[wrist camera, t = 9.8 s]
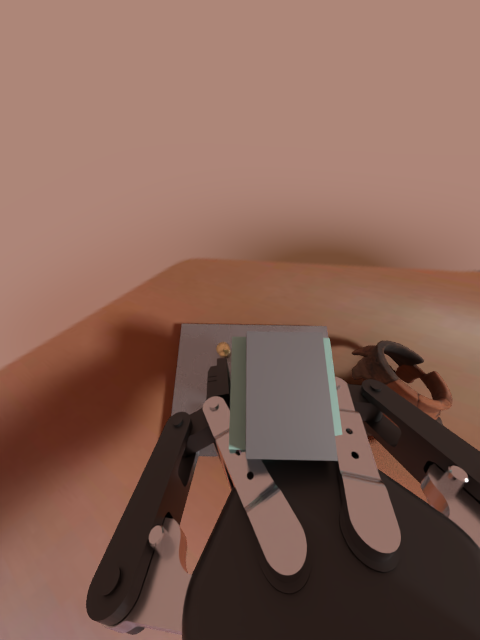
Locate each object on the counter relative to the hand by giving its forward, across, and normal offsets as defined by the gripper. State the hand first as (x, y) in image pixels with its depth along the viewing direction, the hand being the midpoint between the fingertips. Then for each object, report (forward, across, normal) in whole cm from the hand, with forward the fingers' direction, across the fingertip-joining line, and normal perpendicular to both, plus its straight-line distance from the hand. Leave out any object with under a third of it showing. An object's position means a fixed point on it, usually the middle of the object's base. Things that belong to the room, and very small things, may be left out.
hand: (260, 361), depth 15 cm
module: (+2, 0, +5) cm, 5 cm away
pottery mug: (+3, -14, +11) cm, 18 cm away
